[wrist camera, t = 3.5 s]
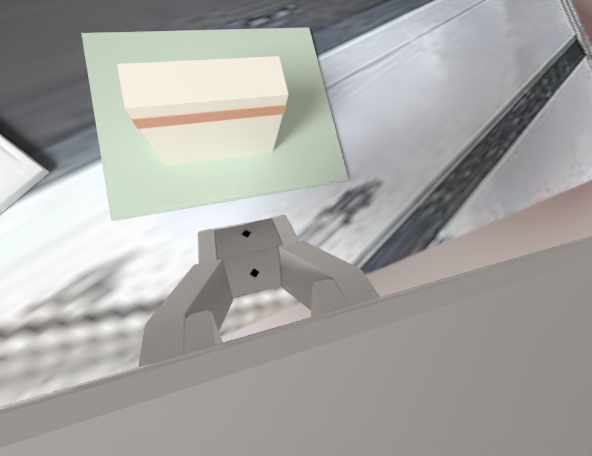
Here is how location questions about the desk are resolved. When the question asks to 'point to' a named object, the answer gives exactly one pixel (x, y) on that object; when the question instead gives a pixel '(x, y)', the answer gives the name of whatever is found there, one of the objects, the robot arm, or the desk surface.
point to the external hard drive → (16, 173)
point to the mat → (218, 172)
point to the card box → (206, 106)
